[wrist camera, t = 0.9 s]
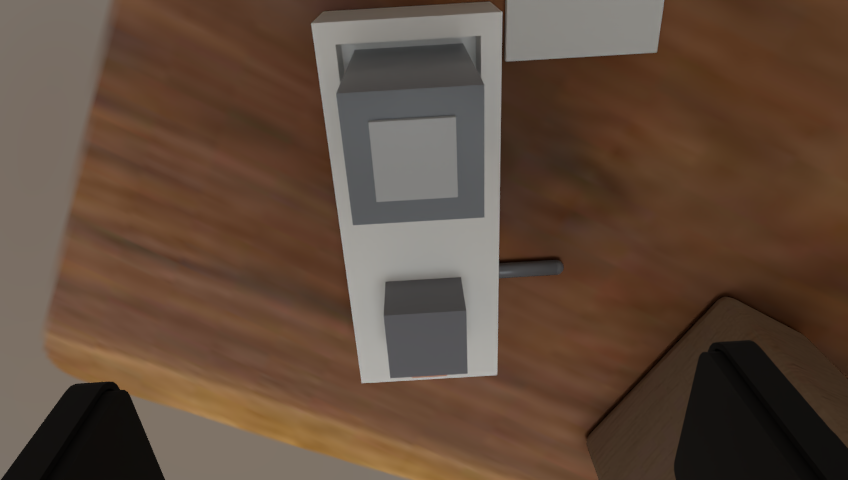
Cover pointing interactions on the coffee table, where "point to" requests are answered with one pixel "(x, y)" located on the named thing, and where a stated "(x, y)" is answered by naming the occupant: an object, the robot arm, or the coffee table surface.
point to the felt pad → (580, 28)
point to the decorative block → (672, 381)
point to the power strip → (423, 240)
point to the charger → (413, 134)
